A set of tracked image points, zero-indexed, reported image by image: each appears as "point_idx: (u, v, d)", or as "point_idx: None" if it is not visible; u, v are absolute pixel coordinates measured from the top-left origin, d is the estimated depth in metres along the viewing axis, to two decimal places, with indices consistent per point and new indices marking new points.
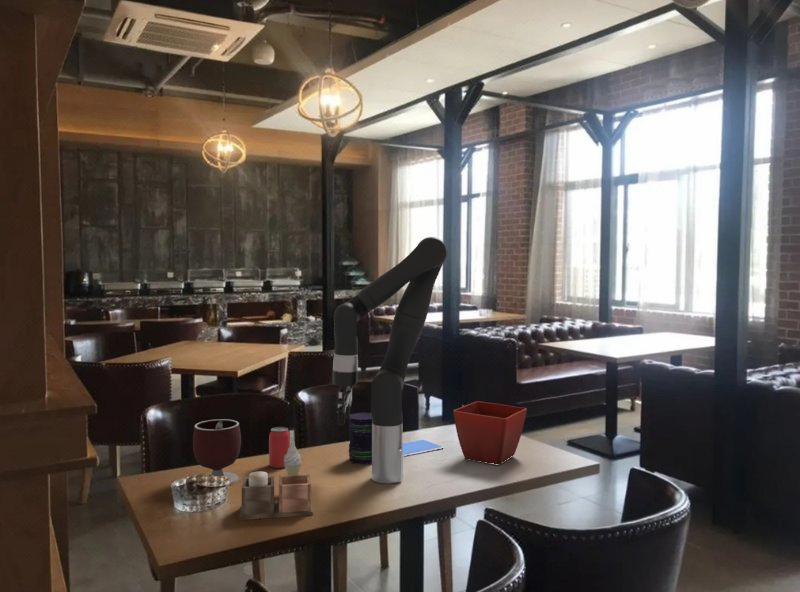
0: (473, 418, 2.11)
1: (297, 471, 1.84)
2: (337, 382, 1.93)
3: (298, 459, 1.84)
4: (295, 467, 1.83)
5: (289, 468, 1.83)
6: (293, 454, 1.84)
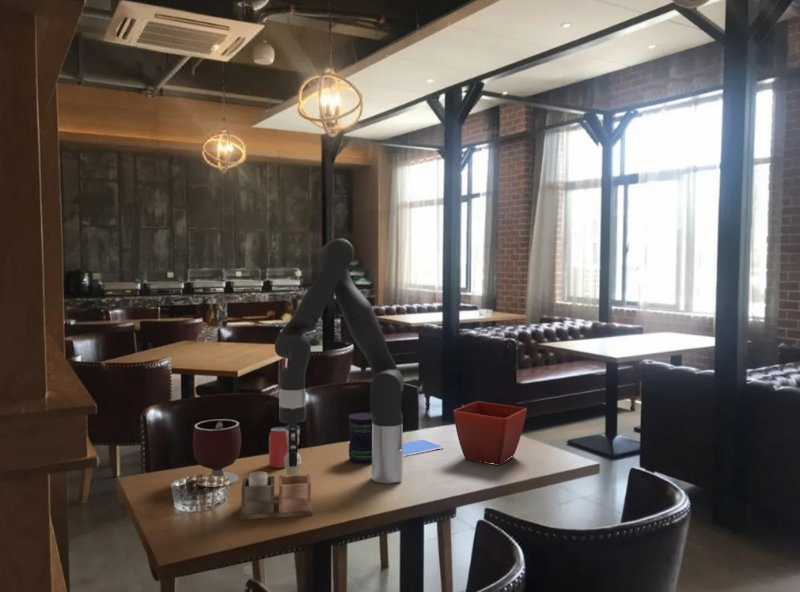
0: (473, 417, 2.11)
1: (297, 471, 1.84)
2: None
3: (298, 459, 1.84)
4: (295, 467, 1.83)
5: (289, 468, 1.83)
6: None
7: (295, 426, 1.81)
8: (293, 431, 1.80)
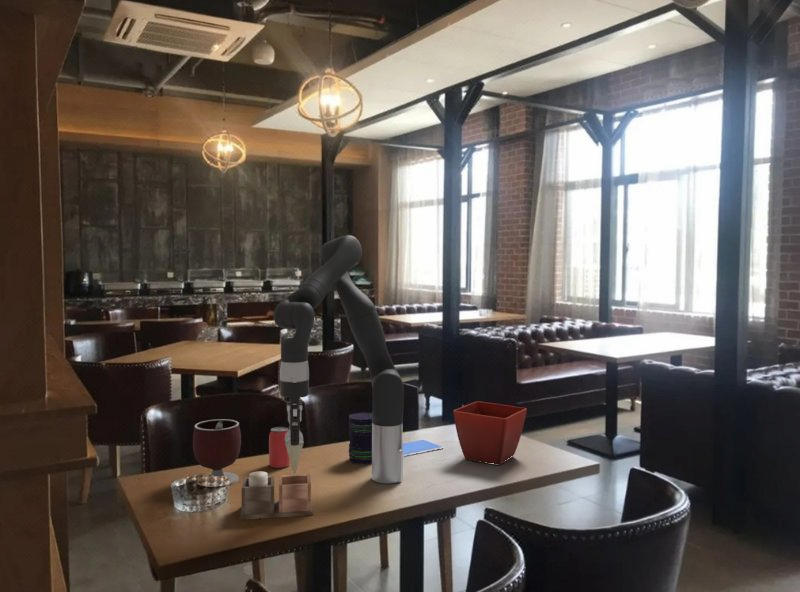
0: (473, 418, 2.11)
1: (299, 450, 1.70)
2: None
3: (300, 437, 1.70)
4: (297, 446, 1.69)
5: (290, 447, 1.69)
6: None
7: (297, 401, 1.67)
8: (295, 407, 1.66)
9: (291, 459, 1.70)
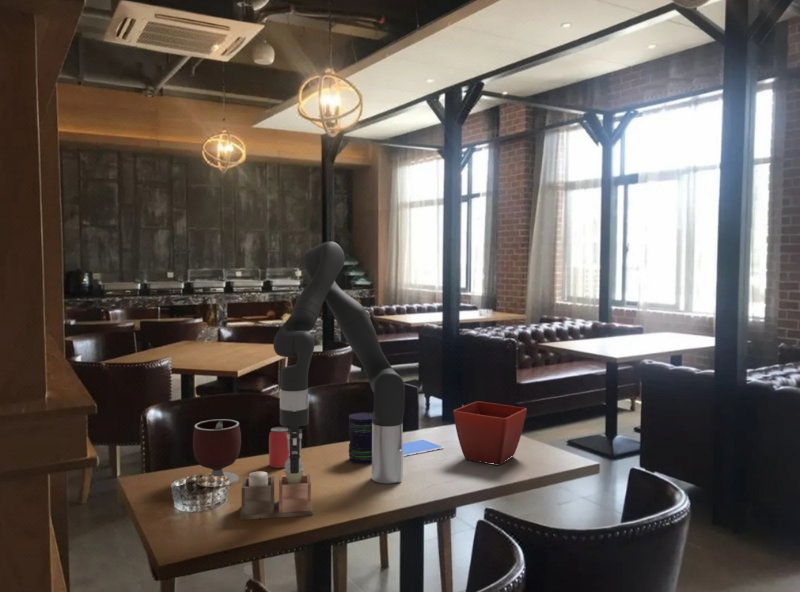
0: (473, 418, 2.11)
1: (299, 478, 1.70)
2: None
3: (300, 465, 1.70)
4: (296, 474, 1.69)
5: (290, 475, 1.69)
6: None
7: (297, 430, 1.67)
8: (295, 435, 1.66)
9: None
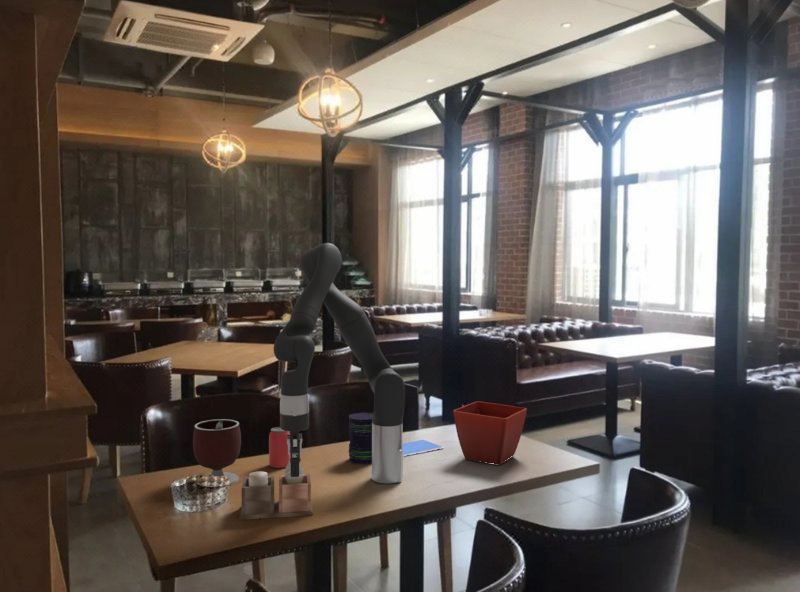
0: (473, 417, 2.11)
1: None
2: None
3: (300, 471, 1.70)
4: (297, 479, 1.69)
5: (290, 480, 1.69)
6: None
7: (297, 435, 1.67)
8: (295, 438, 1.66)
9: None
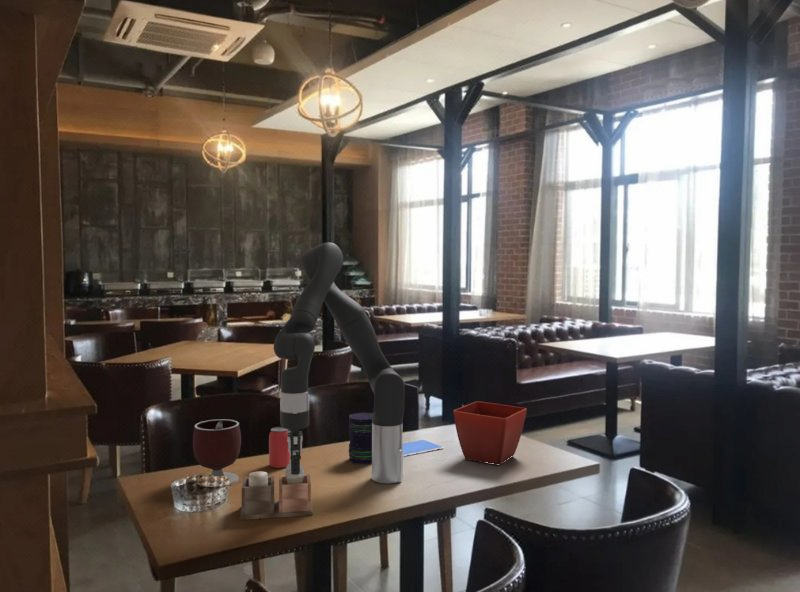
0: (473, 417, 2.11)
1: None
2: None
3: (300, 471, 1.70)
4: (297, 479, 1.69)
5: (291, 480, 1.69)
6: None
7: (297, 432, 1.67)
8: (295, 435, 1.66)
9: None
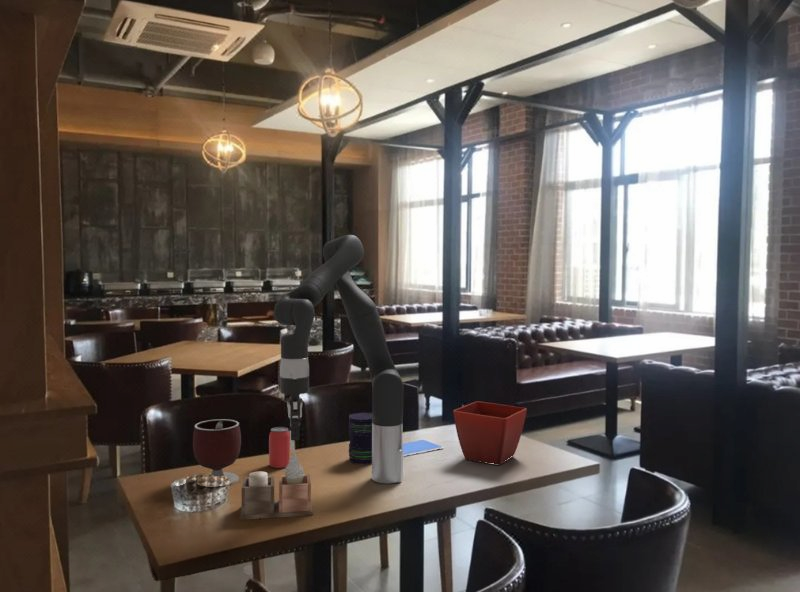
0: (473, 417, 2.11)
1: None
2: None
3: (300, 471, 1.70)
4: (297, 479, 1.69)
5: (290, 480, 1.69)
6: (295, 465, 1.70)
7: (297, 398, 1.67)
8: None
9: None
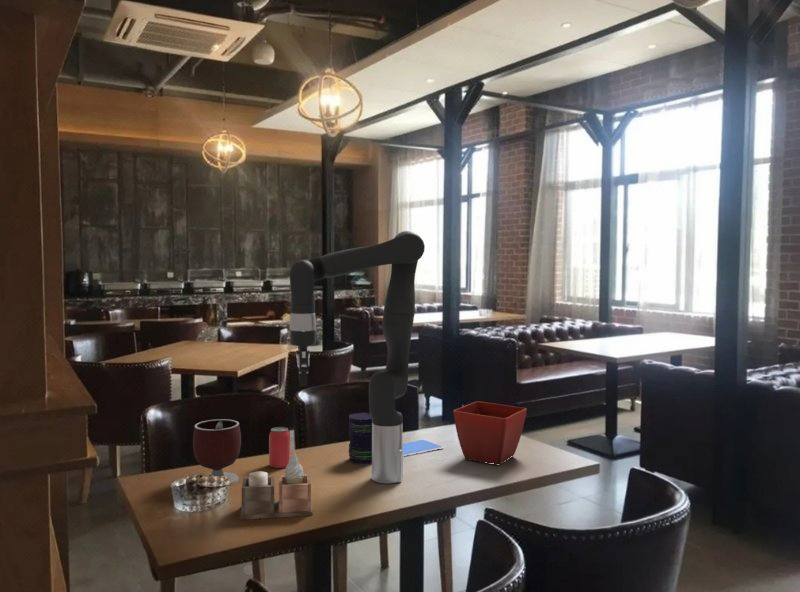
0: (473, 418, 2.11)
1: None
2: None
3: (300, 471, 1.70)
4: (297, 479, 1.69)
5: (290, 480, 1.69)
6: (295, 465, 1.70)
7: (305, 349, 1.86)
8: (304, 351, 1.84)
9: None
